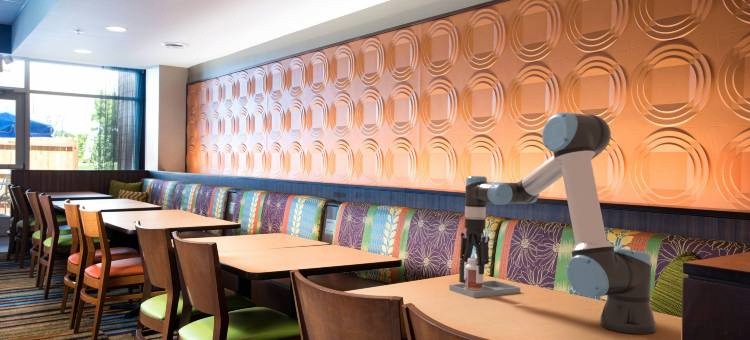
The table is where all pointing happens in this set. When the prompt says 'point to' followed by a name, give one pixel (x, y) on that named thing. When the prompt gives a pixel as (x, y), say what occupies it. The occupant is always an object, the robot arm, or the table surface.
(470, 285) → the pill bottle
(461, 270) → the mug
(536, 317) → the table surface
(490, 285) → the caddy
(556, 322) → the table surface
